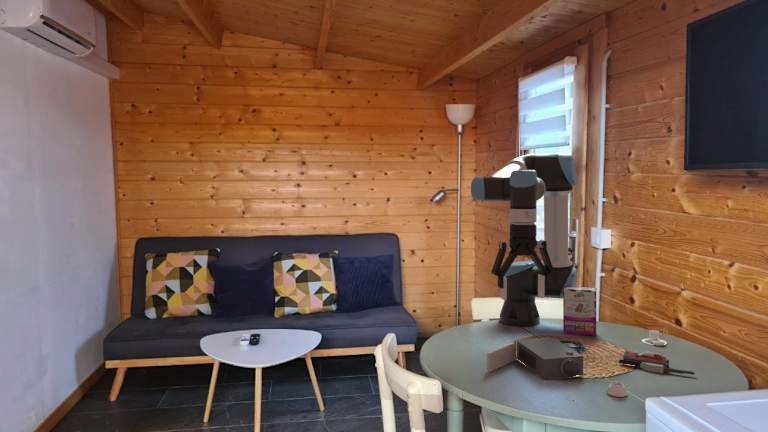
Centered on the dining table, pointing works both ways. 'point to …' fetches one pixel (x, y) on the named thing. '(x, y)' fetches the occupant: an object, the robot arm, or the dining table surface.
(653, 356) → the walkie-talkie
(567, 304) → the candy bar box
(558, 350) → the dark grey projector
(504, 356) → the side door
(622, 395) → the pink dome
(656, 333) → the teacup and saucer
